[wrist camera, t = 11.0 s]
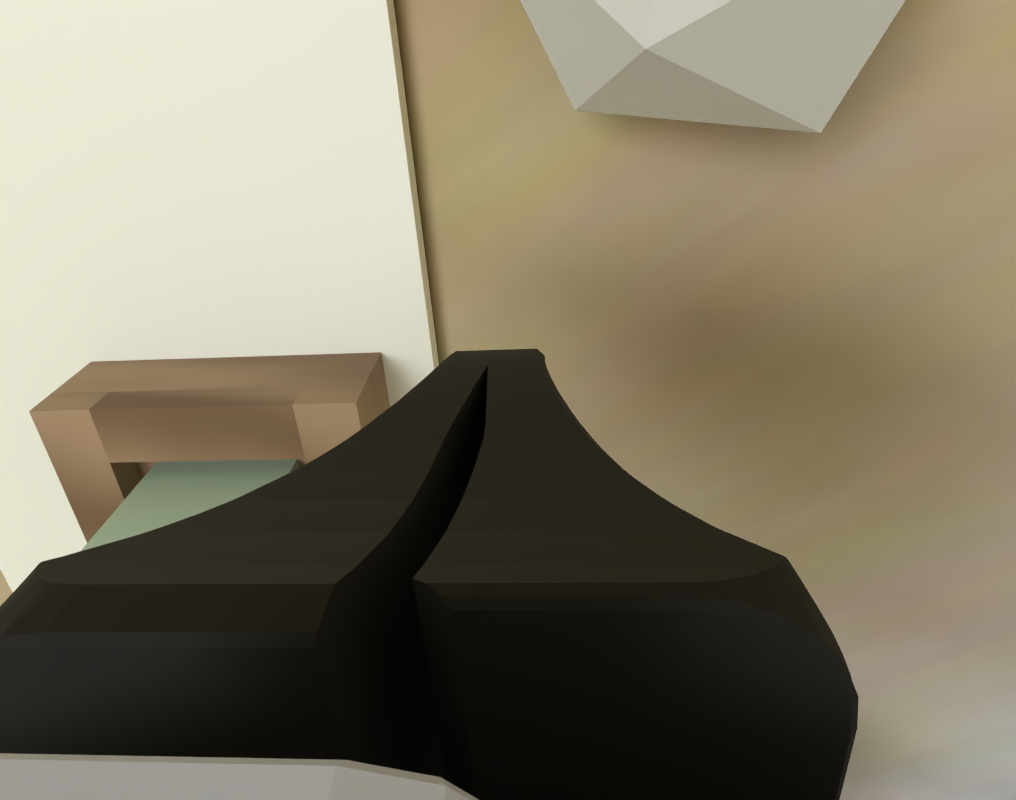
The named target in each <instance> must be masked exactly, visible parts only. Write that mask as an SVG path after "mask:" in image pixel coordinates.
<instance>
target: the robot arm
mask: <svg viewBox="0 0 1016 800" xmlns="http://www.w3.org/2000/svg"><path fill="white" fill-rule="evenodd" d="M857 717H858V695H857V692H856V690H855V687H854V685H853V682H852V679H851V675H850V672H849V669H848V667H847V664H846V662H845V659H844V657H843V654H842V652H841V650H840V648H839V645H838V643H837V641H836V639H835V637H834V635H833V633H832V631H831V629H830V627H829V626H828V624H827V622H826V620H825V619H824V617H823V615H822V614H821V612H820V610H819V609H818V607H817V605H816V604H815V602H814V600H813V599H812V597H811V595H810V594H809V592H808V591H807V589H806V587H805V586H804V584H803V583H802V581H801V579H800V578H799V576H798V575H797V573H796V571H795V570H794V568H793V567H792V565H791V564H790V562H789V561H788V559H787V558H786V557H784V556H782V555H780V554H777V553H775V552H772V551H770V550H768V549H765V548H763V547H761V546H758V545H756V544H753V543H751V542H749V541H746V540H744V539H741V538H739V537H737V536H734V535H732V534H729V533H727V532H725V531H722V530H720V529H718V528H716V527H714V526H712V525H710V524H708V523H706V522H704V521H702V520H700V519H699V518H697V517H695V516H693V515H691V514H689V513H687V512H686V511H684V510H682V509H680V508H678V507H677V506H675V505H673V504H672V503H670V502H669V501H667V500H665V499H664V498H662V497H660V496H659V495H657V494H656V493H654V492H653V491H652V490H650V489H649V488H647V487H646V486H645V485H643V484H642V483H641V482H639V481H638V480H636V479H635V478H634V477H632V476H631V475H629V474H628V473H627V472H626V471H625V470H623V469H622V468H621V467H620V466H619V465H618V464H617V463H616V462H615V461H614V460H613V459H612V458H611V457H610V456H609V455H608V454H607V453H606V452H605V451H604V450H603V449H602V448H601V447H600V446H599V445H598V444H597V443H596V442H595V441H594V440H593V438H592V437H591V436H590V435H589V434H588V432H587V431H586V430H585V429H584V427H583V426H582V425H581V424H580V423H579V421H578V420H577V419H576V417H575V416H574V415H573V413H572V412H571V410H570V409H569V407H568V406H567V404H566V403H565V401H564V400H563V398H562V396H561V395H560V393H559V392H558V390H557V388H556V386H555V385H554V383H553V381H552V379H551V377H550V375H549V372H548V370H547V367H546V364H545V356H544V355H543V354H542V353H541V352H540V351H539V350H538V349H515V350H483V351H455V352H454V353H453V354H451V355H450V356H449V357H448V358H446V359H445V360H444V361H443V362H442V363H441V364H440V365H439V366H437V367H436V368H435V369H434V370H433V371H432V372H431V373H430V374H429V375H427V376H426V377H425V378H424V379H423V380H422V381H421V382H419V383H418V384H417V385H416V386H415V387H414V388H413V389H411V390H410V391H409V392H408V393H407V394H406V395H404V396H403V397H402V398H401V399H400V400H399V401H397V402H396V403H395V404H394V405H392V406H391V407H390V408H388V409H387V410H386V411H384V412H383V413H382V414H380V415H379V416H378V417H376V418H375V419H374V420H373V421H371V422H370V423H369V424H367V425H366V426H365V427H363V428H362V429H361V430H359V431H358V432H357V433H355V434H354V435H352V436H351V437H349V438H348V439H346V440H345V441H343V442H342V443H340V444H339V445H337V446H336V447H334V448H333V449H331V450H329V451H328V452H326V453H324V454H323V455H321V456H319V457H317V458H316V459H314V460H312V461H311V462H309V463H307V464H305V465H304V466H302V467H300V468H298V469H296V470H295V471H293V472H291V473H289V474H286V475H284V476H282V477H280V478H278V479H276V480H274V481H272V482H270V483H268V484H266V485H264V486H261V487H259V488H257V489H255V490H253V491H251V492H249V493H247V494H245V495H243V496H241V497H238V498H236V499H234V500H231V501H229V502H227V503H224V504H222V505H219V506H217V507H214V508H212V509H209V510H207V511H204V512H202V513H199V514H196V515H194V516H191V517H188V518H185V519H183V520H180V521H177V522H174V523H171V524H169V525H166V526H163V527H160V528H157V529H154V530H151V531H148V532H145V533H142V534H139V535H136V536H132V537H129V538H125V539H122V540H118V541H115V542H111V543H108V544H104V545H101V546H97V547H94V548H90V549H87V550H83V551H80V552H76V553H73V554H69V555H66V556H62V557H58V558H54V559H50V560H46V561H42V562H40V563H39V564H38V565H37V566H36V568H35V569H34V570H33V571H32V572H31V573H30V574H29V575H28V577H27V578H26V579H25V580H24V581H23V582H22V583H21V584H20V585H19V587H18V588H17V589H16V590H15V591H14V592H13V593H12V594H11V595H10V597H9V598H8V599H7V600H6V601H5V602H4V603H3V604H2V605H1V606H0V800H839V799H840V795H841V791H842V787H843V783H844V779H845V775H846V771H847V766H848V762H849V758H850V754H851V750H852V746H853V742H854V738H855V734H856V730H857Z"/></svg>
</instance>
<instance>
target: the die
mask: <svg viewBox="0 0 1016 800" xmlns="http://www.w3.org/2000/svg"><path fill="white" fill-rule="evenodd" d="M520 1H521V3H522V5H523V7H524V9H525V11H526V13H527V15H528V17H529V19H530V21H531V23H532V25H533V27H534V29H535V31H536V33H537V35H538V37H539V40H540V42H541V44H542V46H543V48H544V50H545V52H546V54H547V56H548V58H549V60H550V62H551V64H552V66H553V68H554V70H555V72H556V74H557V76H558V78H559V80H560V82H561V84H562V86H563V88H564V90H565V92H566V94H567V96H568V98H569V100H570V102H571V104H572V106H573V108H574V110H575V111H585V112H596V113H606V114H617V115H628V116H639V117H650V118H661V119H672V120H683V121H694V122H704V123H715V124H726V125H737V126H748V127H759V128H770V129H781V130H792V131H802V132H813V133H821V132H822V130H823V129H824V127H825V126H826V124H827V123H828V121H829V119H830V118H831V116H832V115H833V113H834V112H835V110H836V108H837V107H838V105H839V104H840V102H841V101H842V99H843V97H844V96H845V94H846V93H847V91H848V90H849V88H850V87H851V85H852V83H853V82H854V80H855V79H856V77H857V76H858V74H859V72H860V71H861V69H862V68H863V66H864V65H865V63H866V61H867V60H868V58H869V57H870V55H871V54H872V52H873V51H874V49H875V47H876V46H877V44H878V43H879V41H880V40H881V38H882V36H883V35H884V33H885V32H886V30H887V29H888V27H889V25H890V24H891V22H892V21H893V19H894V18H895V16H896V15H897V13H898V11H899V10H900V8H901V7H902V5H903V4H904V2H905V0H520Z"/></svg>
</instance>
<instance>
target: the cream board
mask: <svg viewBox="0 0 1016 800" xmlns="http://www.w3.org/2000/svg"><path fill="white" fill-rule="evenodd" d="M375 352H381V354H382V360H383V366H384V372H385V378H386V384H387V390H388V397H389V403H390V407H391V406H392V405H394V404H395V403H396V402H397V401H399V400H400V399H401V398H402V397H403V396H404V395H406V394H407V393H408V392H409V391H410V390H411V389H413V388H414V387H415V386H416V385H417V384H418V383H419V382H421V381H422V380H423V379H424V378H425V377H426V376H427V375H429V374H430V373H431V372H432V371H433V370H434V369H435V368H436V367H437V366H439V361H438V353H437V345H436V337H435V329H434V321H433V313H432V305H431V297H430V289H429V281H428V273H427V265H426V257H425V249H424V241H423V233H422V225H421V217H420V209H419V201H418V193H417V185H416V177H415V169H414V161H413V153H412V145H411V137H410V129H409V121H408V113H407V105H406V97H405V89H404V81H403V73H402V65H401V57H400V49H399V41H398V33H397V25H396V17H395V9H394V1H393V0H0V569H1V571H2V573H3V575H4V577H5V579H6V581H7V583H8V585H9V586H10V588H11V590H12V592H14V591H15V590H16V589H17V588H18V587H19V585H20V584H21V583H22V582H23V581H24V580H25V579H26V578H27V577H28V575H29V574H30V573H31V572H32V571H33V570H34V569H35V568H36V566H37V565H38V564H39V563H40V562H42V561H46V560H50V559H54V558H58V557H62V556H66V555H69V554H73V553H76V552H80V551H81V550H82V549H83V548H84V546H85V545H86V544H87V542H86V539H85V537H84V535H83V532H82V530H81V528H80V526H79V523H78V521H77V519H76V517H75V514H74V512H73V510H72V508H71V505H70V503H69V501H68V499H67V496H66V494H65V492H64V489H63V487H62V485H61V483H60V480H59V478H58V476H57V474H56V471H55V469H54V467H53V465H52V462H51V460H50V458H49V456H48V453H47V451H46V449H45V446H44V444H43V442H42V440H41V437H40V435H39V433H38V431H37V428H36V426H35V424H34V422H33V419H32V417H31V415H30V413H29V411H30V410H31V409H32V408H34V407H35V406H36V405H37V404H39V403H40V402H41V401H42V400H44V399H45V398H46V397H47V396H49V395H50V394H51V393H52V392H54V391H55V390H56V389H57V388H59V387H60V386H61V385H62V384H64V383H65V382H66V381H67V380H69V379H70V378H71V377H72V376H74V375H75V374H76V373H77V372H79V371H80V370H81V369H83V368H84V367H85V366H86V365H88V364H89V363H90V362H95V361H126V360H157V359H189V358H220V357H251V356H282V355H313V354H344V353H375Z"/></svg>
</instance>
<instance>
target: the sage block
mask: <svg viewBox="0 0 1016 800" xmlns="http://www.w3.org/2000/svg"><path fill="white" fill-rule="evenodd" d="M298 468H300V466H299V462H298V459H273V460H221V461H168V462H156V463H155V464H154V466H153V467H152V468H151V469H150V470H149V471H148V473H147V474H146V475H145V476H144V477H143V478H142V480H141V481H140V482H139V483H138V484H137V486H136V487H135V488H134V489H133V490H132V491H131V493H130V494H129V495H128V496H127V497H126V498H125V500H124V501H123V502H122V503H121V504H120V505H119V507H118V508H117V509H116V510H115V511H114V512H113V514H112V515H111V516H110V517H109V518H108V520H107V521H106V522H105V523H104V524H103V525H102V527H101V528H100V529H99V530H98V531H97V532H96V534H95V535H94V536H93V537H92V538H91V539H90V541H89V542H88V543H87V544H86V545H85V546H84V548H83V549H82V550H81V551H83V550H87V549H90V548H94V547H97V546H101V545H104V544H108V543H111V542H115V541H118V540H122V539H125V538H129V537H132V536H136V535H139V534H142V533H145V532H148V531H151V530H154V529H157V528H160V527H163V526H166V525H169V524H171V523H174V522H177V521H180V520H183V519H185V518H188V517H191V516H194V515H196V514H199V513H202V512H204V511H207V510H209V509H212V508H214V507H217V506H219V505H222V504H224V503H227V502H229V501H231V500H234V499H236V498H238V497H241V496H243V495H245V494H247V493H249V492H251V491H253V490H255V489H257V488H259V487H261V486H264V485H266V484H268V483H270V482H272V481H274V480H276V479H278V478H280V477H282V476H284V475H286V474H289V473H291V472H293V471H295V470H296V469H298Z"/></svg>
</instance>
